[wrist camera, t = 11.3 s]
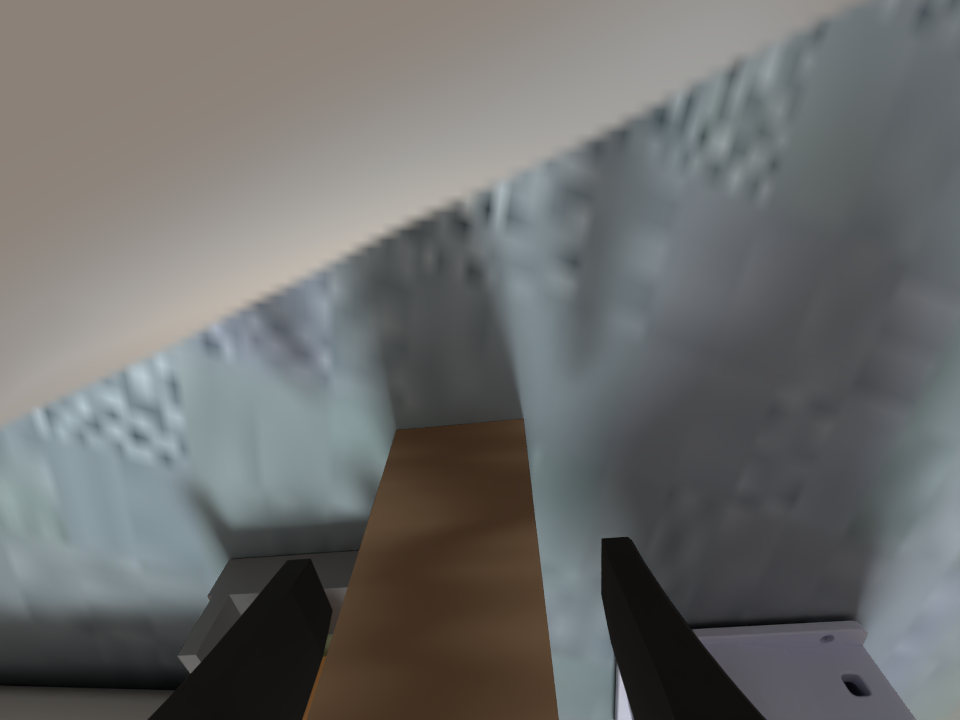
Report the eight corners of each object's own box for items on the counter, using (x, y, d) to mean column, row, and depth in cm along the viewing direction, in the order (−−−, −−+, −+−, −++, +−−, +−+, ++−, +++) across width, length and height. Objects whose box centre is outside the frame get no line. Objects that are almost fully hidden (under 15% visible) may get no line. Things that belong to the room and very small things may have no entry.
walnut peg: (523, 419, 14) (559, 724, 7) (531, 513, 16) (567, 834, 9) (396, 429, 14) (302, 734, 7) (419, 521, 16) (362, 838, 9)
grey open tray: (229, 559, 17) (171, 656, 14) (411, 546, 16) (392, 644, 13) (319, 723, 22) (291, 819, 19) (457, 717, 22) (452, 815, 19)
